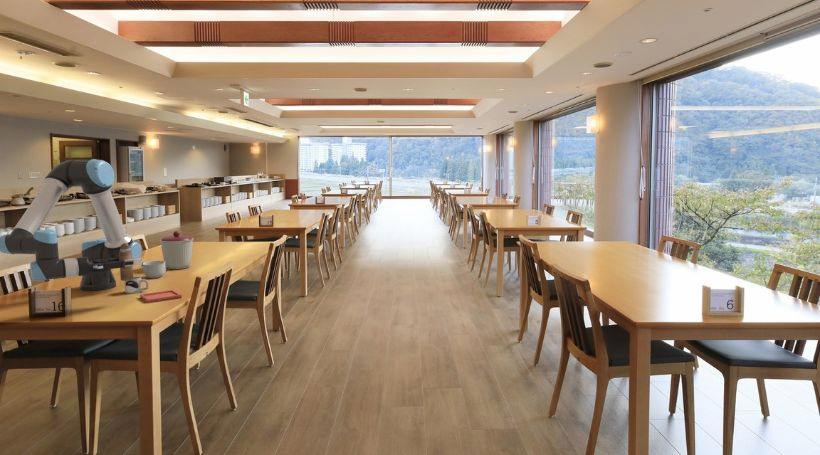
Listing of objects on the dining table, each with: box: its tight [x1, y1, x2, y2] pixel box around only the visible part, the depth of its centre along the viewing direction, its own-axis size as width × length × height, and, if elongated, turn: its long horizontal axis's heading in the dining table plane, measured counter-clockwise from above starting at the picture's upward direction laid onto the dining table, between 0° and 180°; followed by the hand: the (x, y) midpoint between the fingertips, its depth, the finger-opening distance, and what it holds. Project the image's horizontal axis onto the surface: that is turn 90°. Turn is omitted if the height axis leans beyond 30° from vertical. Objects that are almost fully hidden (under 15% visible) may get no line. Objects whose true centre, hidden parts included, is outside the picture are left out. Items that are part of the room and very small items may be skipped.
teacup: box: [140, 259, 167, 279], centre depth 289 cm, size 14×11×8 cm
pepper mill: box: [119, 243, 134, 282], centre depth 233 cm, size 5×5×16 cm
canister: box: [158, 230, 195, 270], centre depth 312 cm, size 18×18×21 cm
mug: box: [124, 276, 150, 295], centre depth 255 cm, size 10×7×7 cm, turn 101°
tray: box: [139, 289, 183, 304], centre depth 244 cm, size 12×14×2 cm
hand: (139, 260), depth 236 cm, fingers closed on pepper mill, 5 cm apart
